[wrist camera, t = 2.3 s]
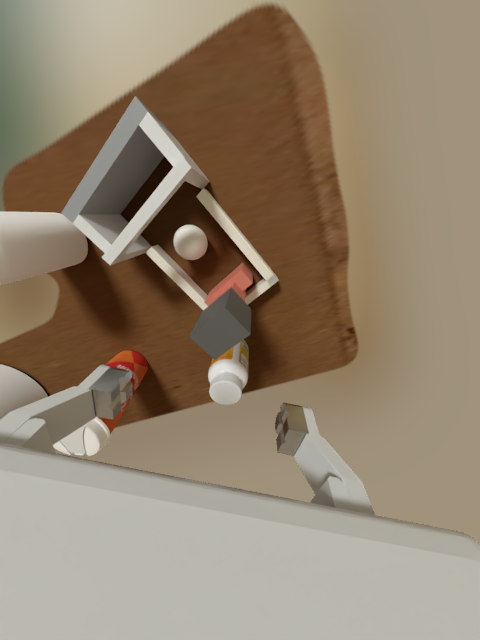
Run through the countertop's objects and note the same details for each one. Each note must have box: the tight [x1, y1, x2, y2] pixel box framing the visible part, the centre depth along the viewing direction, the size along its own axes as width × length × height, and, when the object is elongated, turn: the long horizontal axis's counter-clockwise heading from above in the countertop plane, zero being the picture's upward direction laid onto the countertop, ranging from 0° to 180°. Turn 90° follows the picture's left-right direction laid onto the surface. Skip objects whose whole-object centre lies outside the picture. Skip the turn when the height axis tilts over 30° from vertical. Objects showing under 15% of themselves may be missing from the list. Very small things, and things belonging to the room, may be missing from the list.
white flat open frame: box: [146, 188, 279, 310], centre depth 27 cm, size 10×13×2 cm
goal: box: [62, 96, 210, 265], centre depth 22 cm, size 12×6×8 cm, turn 131°
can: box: [0, 212, 88, 285], centre depth 23 cm, size 6×6×12 cm
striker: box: [189, 263, 253, 360], centre depth 23 cm, size 6×3×14 cm, turn 131°
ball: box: [173, 225, 208, 260], centre depth 25 cm, size 4×4×4 cm
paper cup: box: [53, 350, 148, 456], centre depth 30 cm, size 8×8×14 cm
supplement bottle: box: [208, 340, 249, 405], centre depth 30 cm, size 5×5×10 cm
